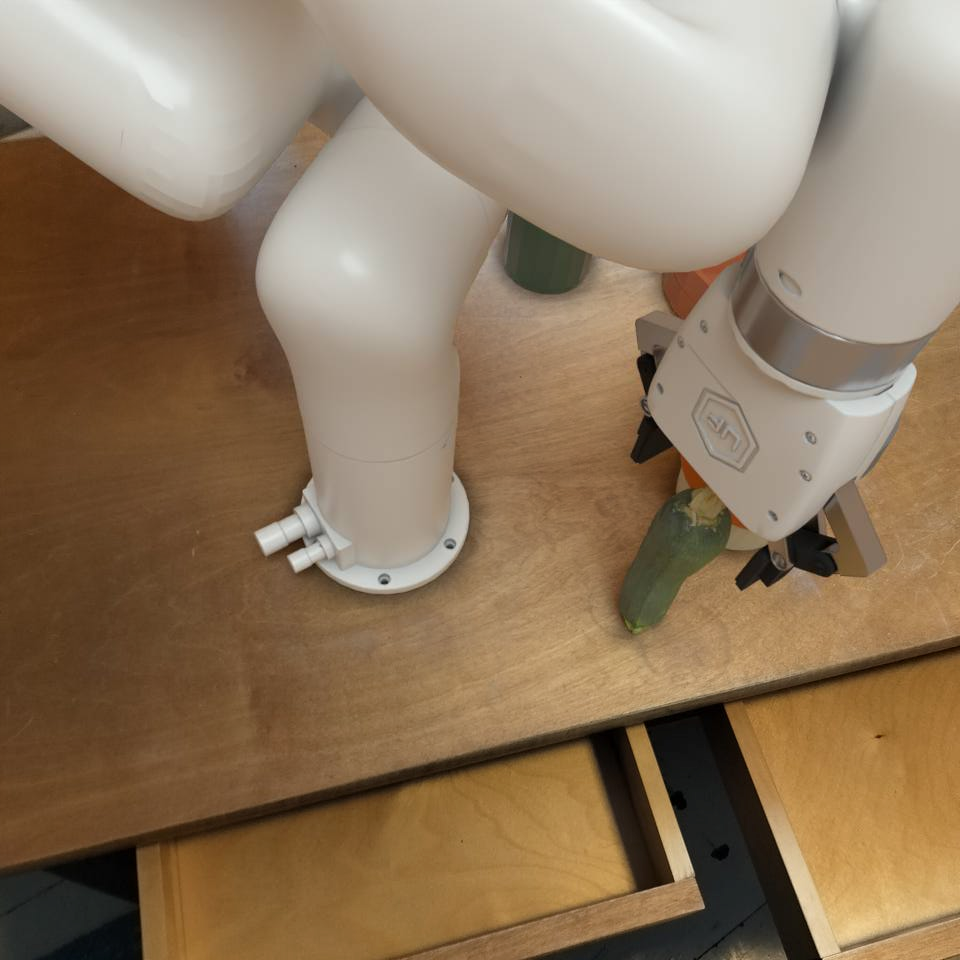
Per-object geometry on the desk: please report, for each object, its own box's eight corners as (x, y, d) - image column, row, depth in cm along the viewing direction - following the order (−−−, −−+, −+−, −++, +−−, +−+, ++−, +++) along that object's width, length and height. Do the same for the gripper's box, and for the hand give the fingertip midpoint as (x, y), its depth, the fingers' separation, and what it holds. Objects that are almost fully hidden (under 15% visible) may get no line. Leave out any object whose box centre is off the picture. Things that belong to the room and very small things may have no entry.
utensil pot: (534, 306, 76) (549, 230, 69) (486, 249, 79) (495, 170, 72) (605, 275, 79) (627, 198, 71) (556, 221, 82) (571, 141, 74)
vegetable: (600, 592, 62) (673, 444, 45) (653, 578, 63) (745, 427, 46) (622, 648, 60) (708, 515, 43) (677, 632, 61) (783, 496, 44)
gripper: (625, 198, 36) (562, 428, 51) (933, 511, 29) (755, 670, 44) (756, 144, 38) (659, 378, 53) (1068, 420, 31) (856, 601, 46)
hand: (703, 510), depth 48 cm, fingers open, 8 cm apart
